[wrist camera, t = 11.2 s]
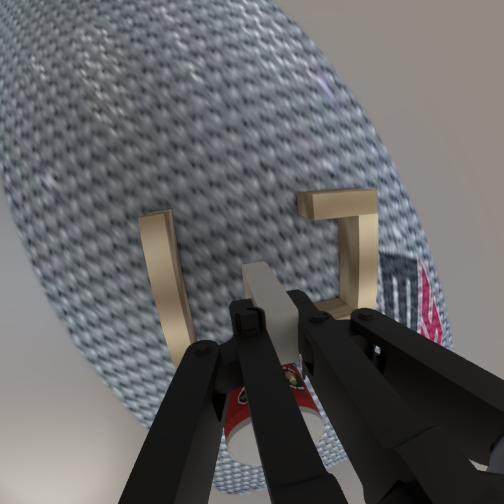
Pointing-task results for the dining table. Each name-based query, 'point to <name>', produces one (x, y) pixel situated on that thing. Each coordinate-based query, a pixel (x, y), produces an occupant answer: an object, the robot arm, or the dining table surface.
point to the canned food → (240, 423)
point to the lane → (309, 205)
